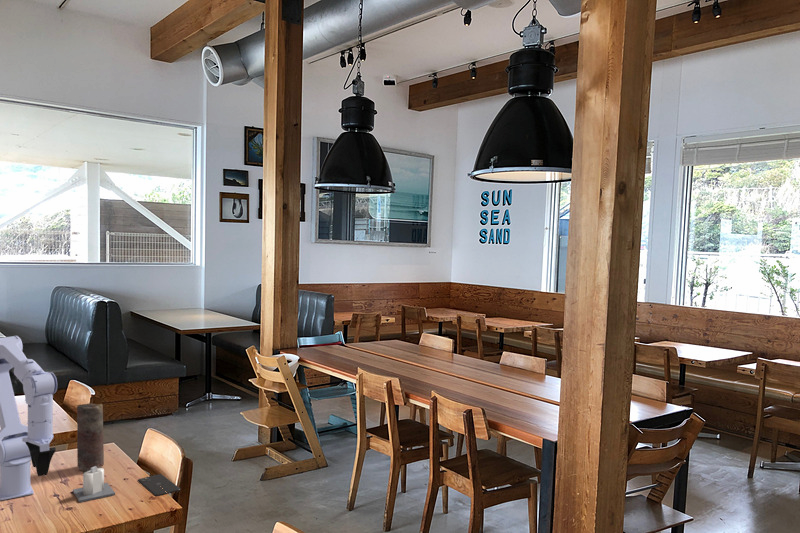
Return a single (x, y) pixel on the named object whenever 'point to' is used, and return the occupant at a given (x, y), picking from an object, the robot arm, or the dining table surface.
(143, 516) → the dining table surface
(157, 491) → the smartphone
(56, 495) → the dining table surface
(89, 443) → the candle
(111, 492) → the slate coaster
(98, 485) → the charger plug
